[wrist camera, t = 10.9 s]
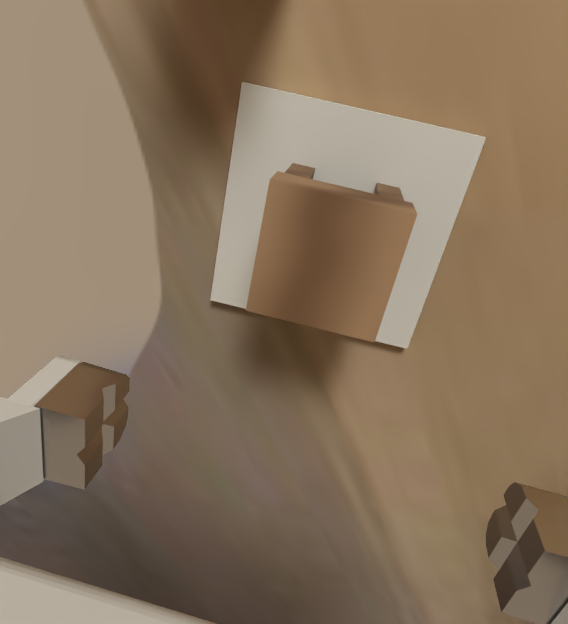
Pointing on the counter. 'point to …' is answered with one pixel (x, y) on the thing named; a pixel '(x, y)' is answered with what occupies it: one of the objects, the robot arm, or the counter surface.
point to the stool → (329, 253)
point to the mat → (348, 173)
